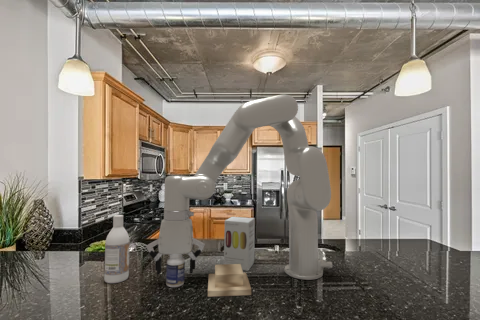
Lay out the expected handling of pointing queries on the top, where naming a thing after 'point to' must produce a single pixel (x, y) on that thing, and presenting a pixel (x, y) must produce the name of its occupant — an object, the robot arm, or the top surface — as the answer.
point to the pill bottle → (175, 270)
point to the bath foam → (117, 252)
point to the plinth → (228, 289)
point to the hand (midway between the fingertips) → (175, 272)
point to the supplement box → (239, 241)
